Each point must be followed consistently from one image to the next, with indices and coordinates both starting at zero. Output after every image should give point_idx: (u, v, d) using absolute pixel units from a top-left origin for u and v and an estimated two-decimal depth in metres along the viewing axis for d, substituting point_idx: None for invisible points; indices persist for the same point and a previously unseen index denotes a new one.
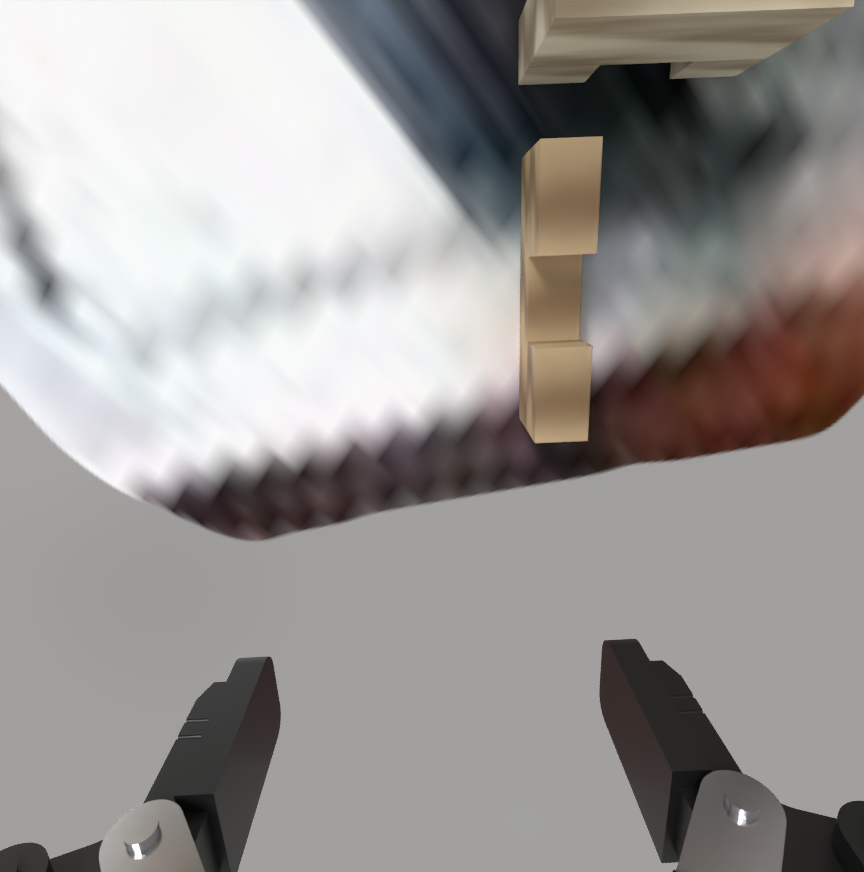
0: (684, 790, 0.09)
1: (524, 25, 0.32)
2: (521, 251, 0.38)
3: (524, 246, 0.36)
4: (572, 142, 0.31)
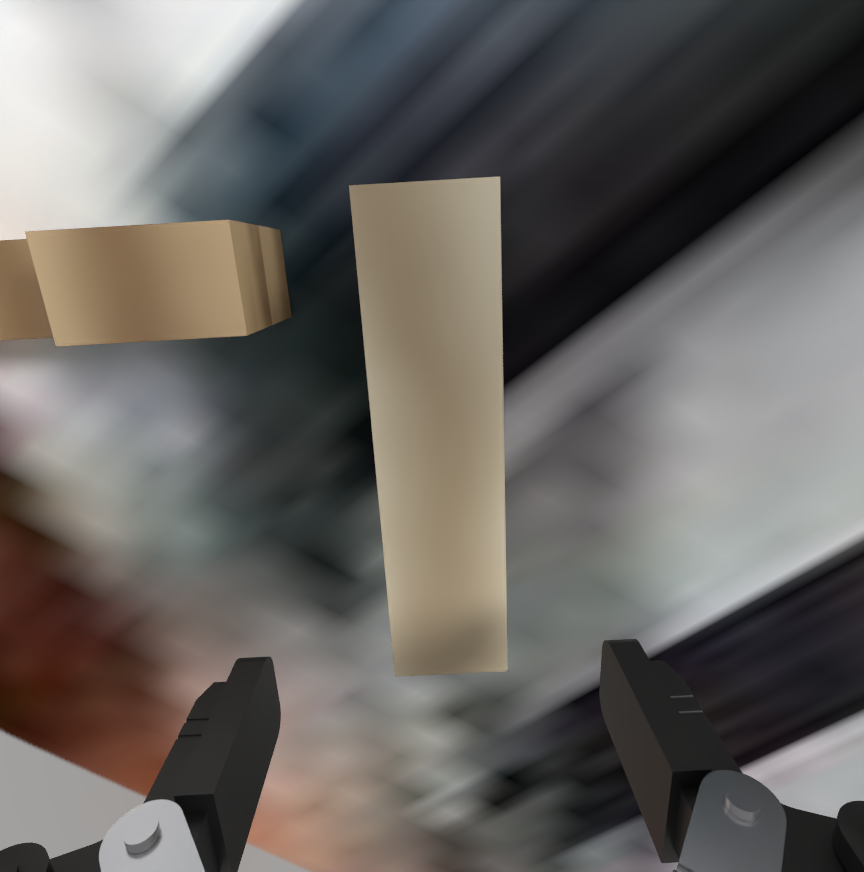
0: (684, 790, 0.09)
1: None
2: None
3: None
4: (230, 281, 0.17)
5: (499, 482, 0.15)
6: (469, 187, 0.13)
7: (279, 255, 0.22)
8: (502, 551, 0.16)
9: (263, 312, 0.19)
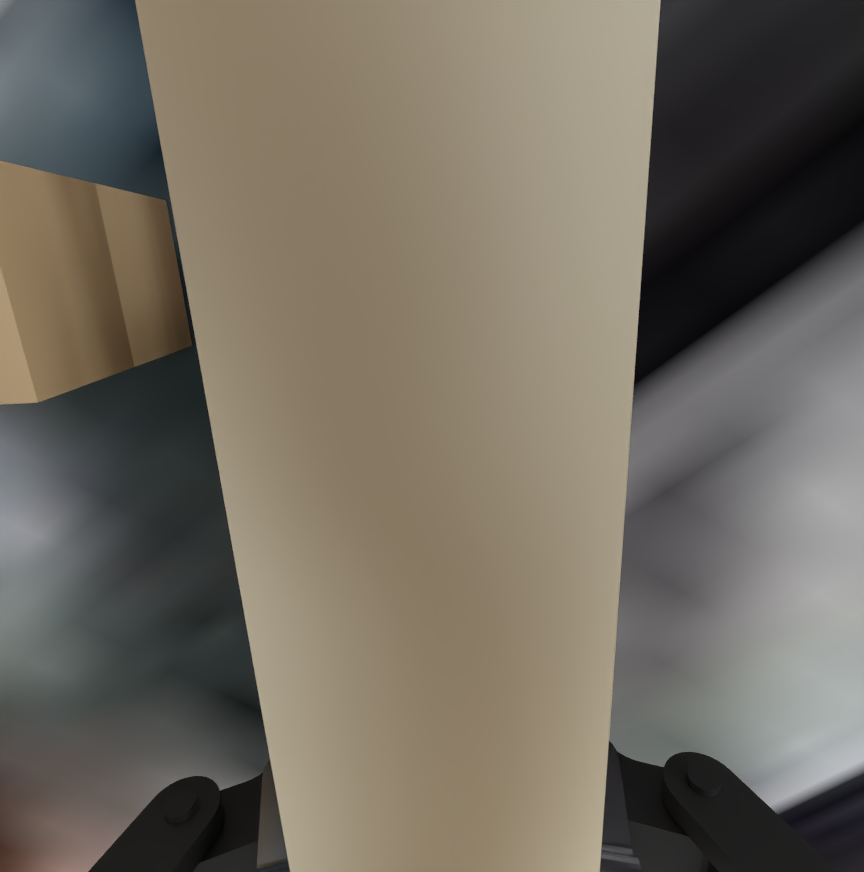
0: None
1: None
2: None
3: None
4: None
5: (591, 808, 0.06)
6: None
7: (162, 243, 0.13)
8: None
9: (105, 347, 0.10)
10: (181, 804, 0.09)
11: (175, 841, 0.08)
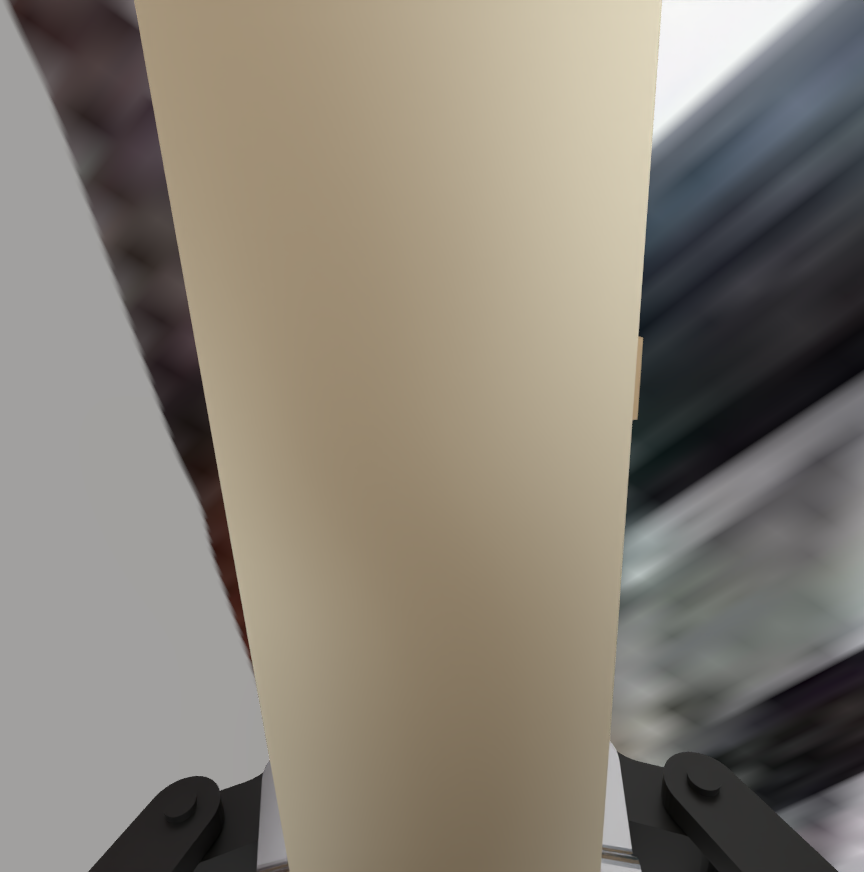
0: None
1: None
2: None
3: None
4: None
5: (591, 813, 0.06)
6: None
7: None
8: None
9: None
10: (181, 805, 0.09)
11: (175, 841, 0.08)
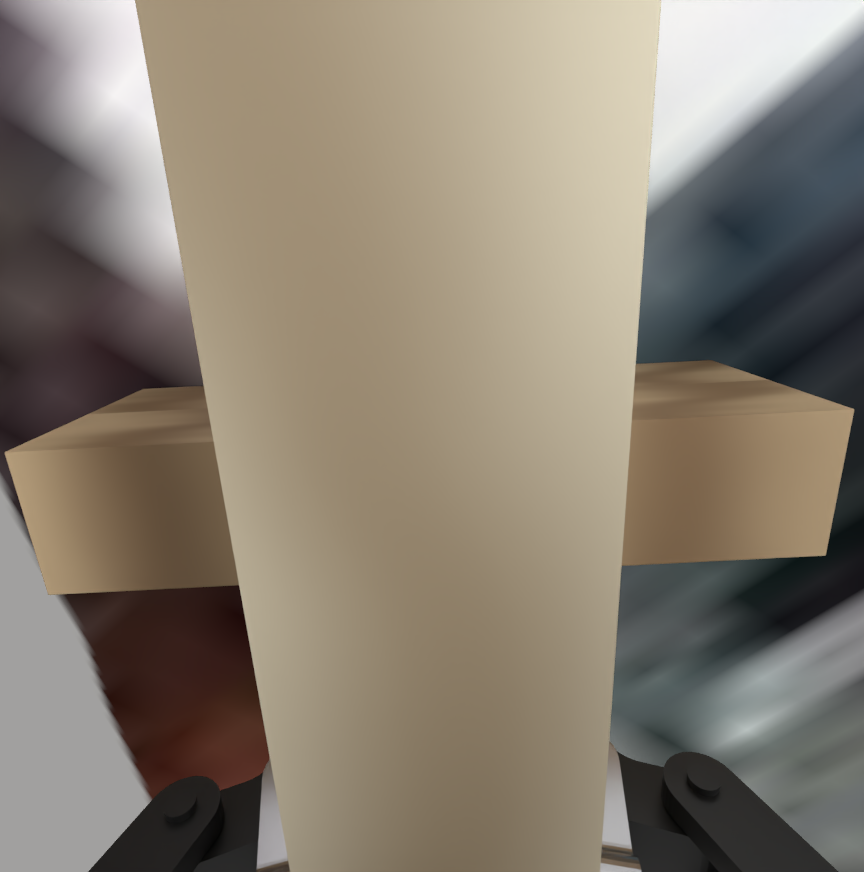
0: None
1: None
2: None
3: None
4: (826, 488, 0.12)
5: (591, 811, 0.06)
6: None
7: None
8: None
9: None
10: (181, 805, 0.09)
11: (175, 841, 0.08)
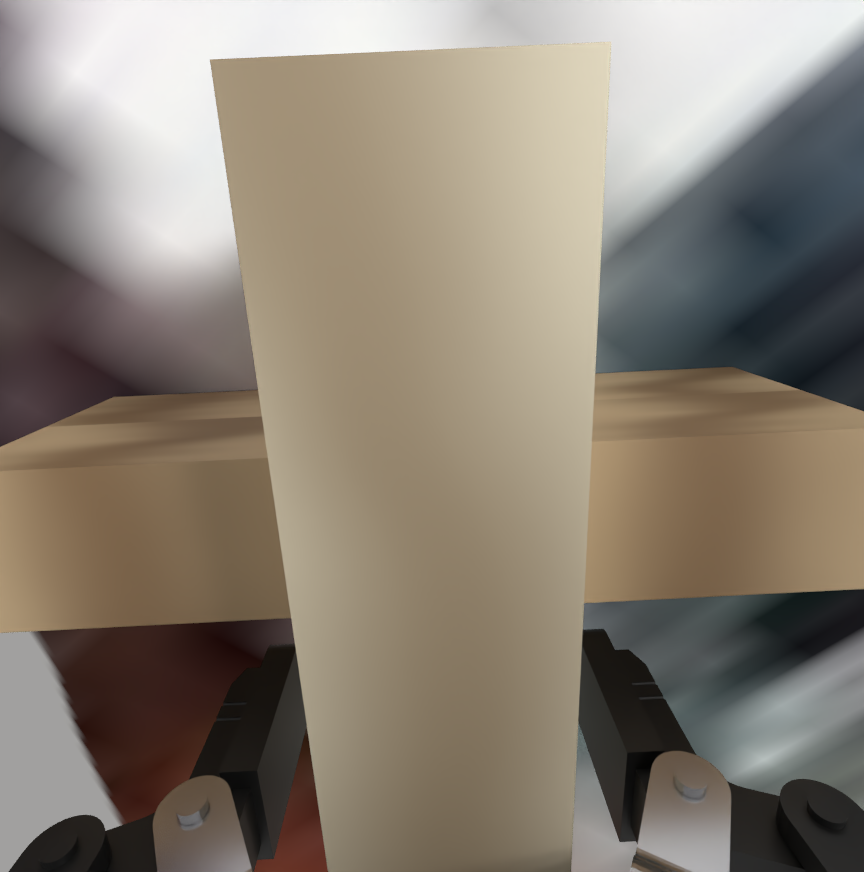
0: (639, 771, 0.10)
1: None
2: None
3: None
4: None
5: (567, 730, 0.07)
6: (529, 71, 0.05)
7: None
8: (565, 847, 0.08)
9: None
10: (60, 848, 0.08)
11: None
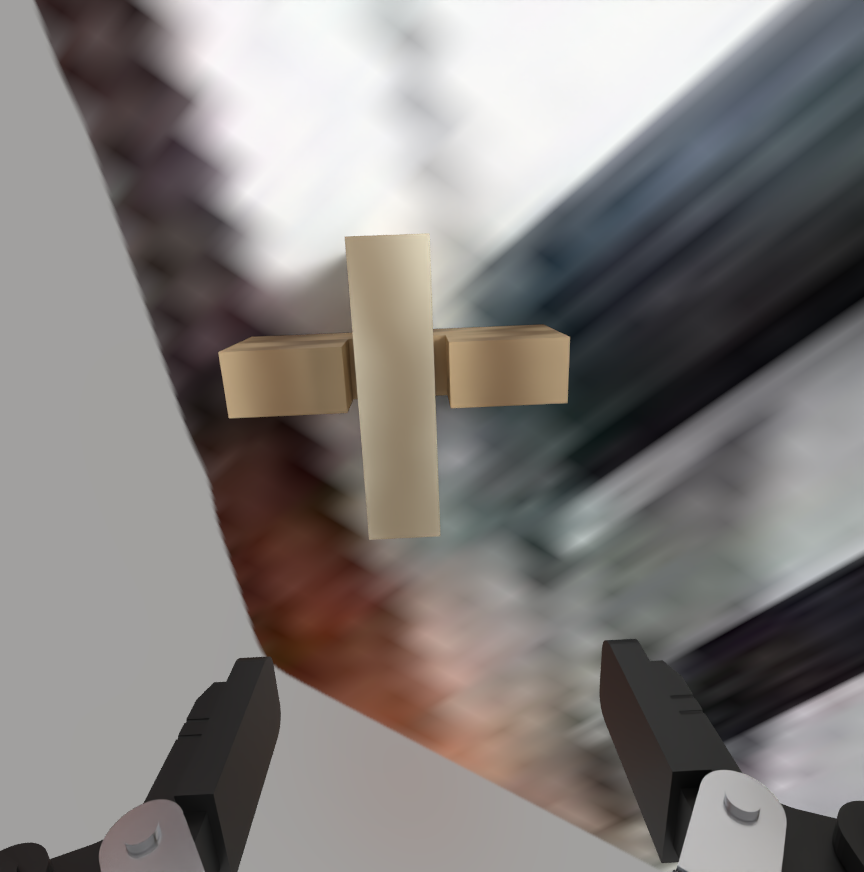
0: (684, 790, 0.09)
1: None
2: (449, 329, 0.33)
3: (455, 330, 0.32)
4: (563, 371, 0.29)
5: (432, 411, 0.25)
6: (412, 239, 0.23)
7: None
8: (435, 456, 0.26)
9: None
10: None
11: None
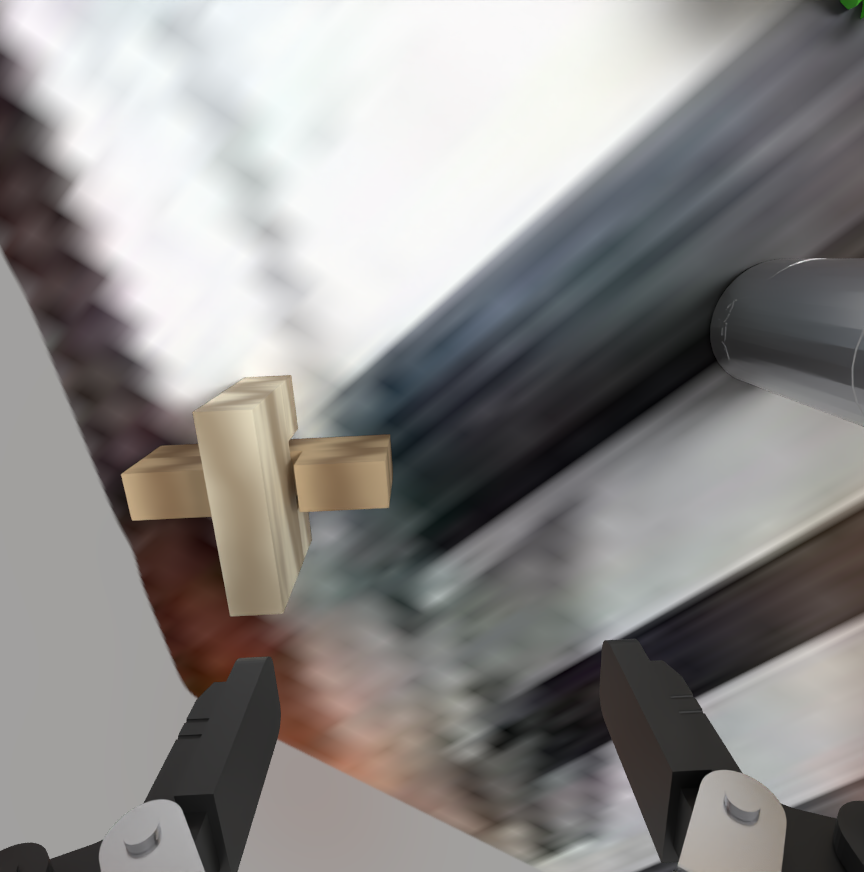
0: (684, 790, 0.09)
1: (271, 381, 0.39)
2: (314, 439, 0.43)
3: (315, 443, 0.41)
4: (383, 485, 0.38)
5: (267, 527, 0.34)
6: (240, 413, 0.32)
7: (390, 448, 0.42)
8: (273, 557, 0.35)
9: (389, 488, 0.40)
10: None
11: None
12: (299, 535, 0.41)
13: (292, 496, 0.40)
